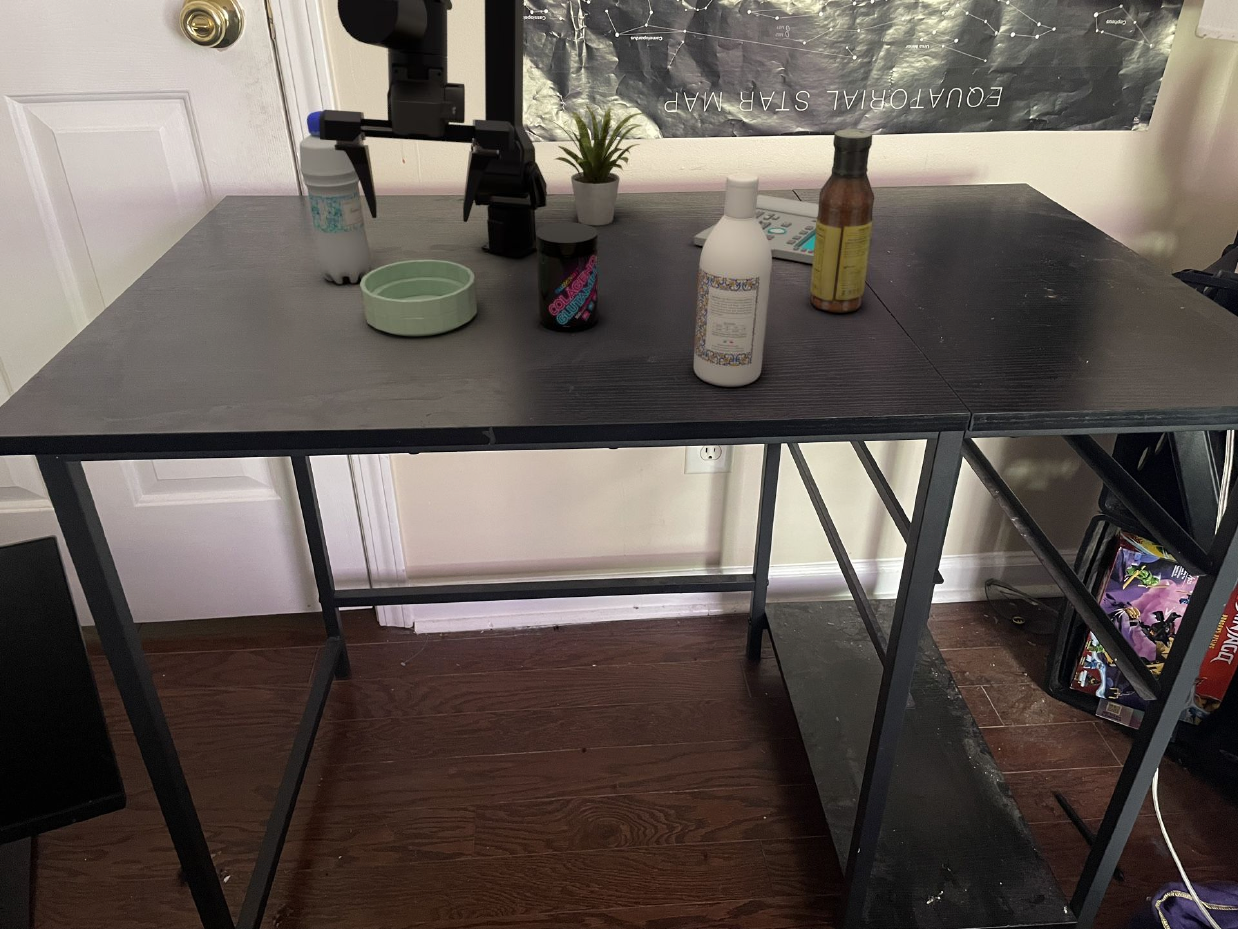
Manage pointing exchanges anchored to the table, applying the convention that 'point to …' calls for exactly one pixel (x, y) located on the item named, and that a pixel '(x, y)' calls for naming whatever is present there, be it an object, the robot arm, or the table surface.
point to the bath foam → (733, 291)
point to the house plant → (596, 169)
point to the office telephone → (783, 227)
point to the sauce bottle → (843, 226)
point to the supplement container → (567, 275)
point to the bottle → (334, 207)
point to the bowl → (419, 297)
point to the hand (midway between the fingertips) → (420, 219)
